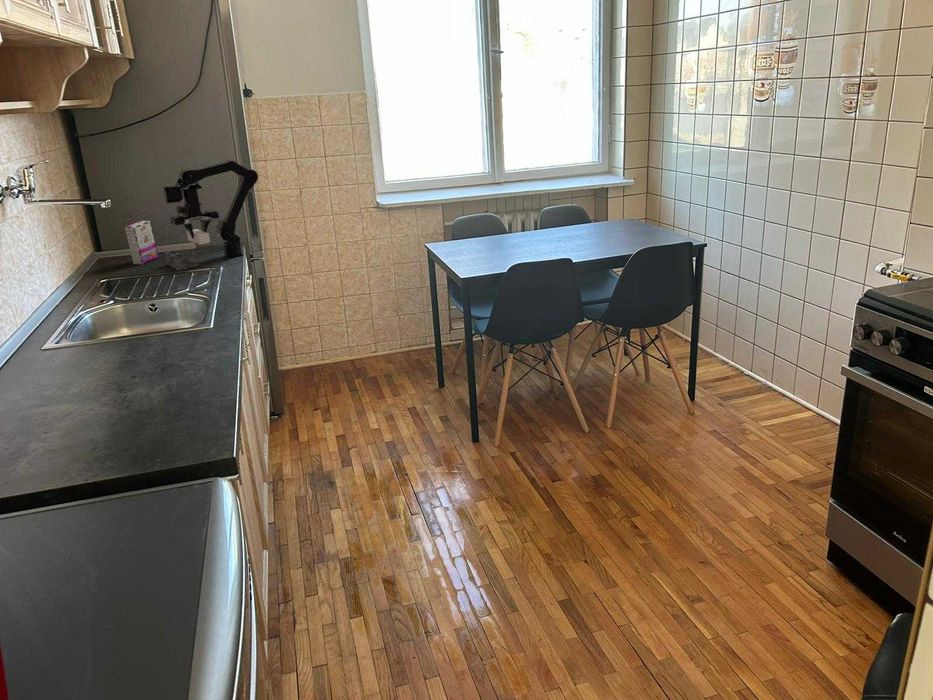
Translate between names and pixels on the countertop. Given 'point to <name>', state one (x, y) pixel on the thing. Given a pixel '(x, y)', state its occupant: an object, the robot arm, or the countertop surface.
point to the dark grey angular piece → (181, 259)
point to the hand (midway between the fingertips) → (198, 237)
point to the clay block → (199, 237)
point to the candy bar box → (141, 242)
